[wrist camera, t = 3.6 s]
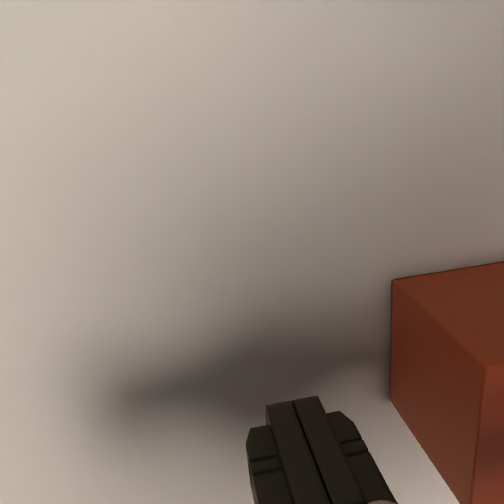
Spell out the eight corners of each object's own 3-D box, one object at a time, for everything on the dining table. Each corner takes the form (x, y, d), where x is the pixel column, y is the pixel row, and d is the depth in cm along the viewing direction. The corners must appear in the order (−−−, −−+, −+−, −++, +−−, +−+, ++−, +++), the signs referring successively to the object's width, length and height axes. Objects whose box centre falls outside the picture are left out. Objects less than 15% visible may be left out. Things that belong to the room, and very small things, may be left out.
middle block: (391, 279, 16) (485, 366, 11) (528, 256, 16) (671, 330, 12) (389, 401, 17) (469, 519, 13) (513, 377, 18) (631, 481, 13)
